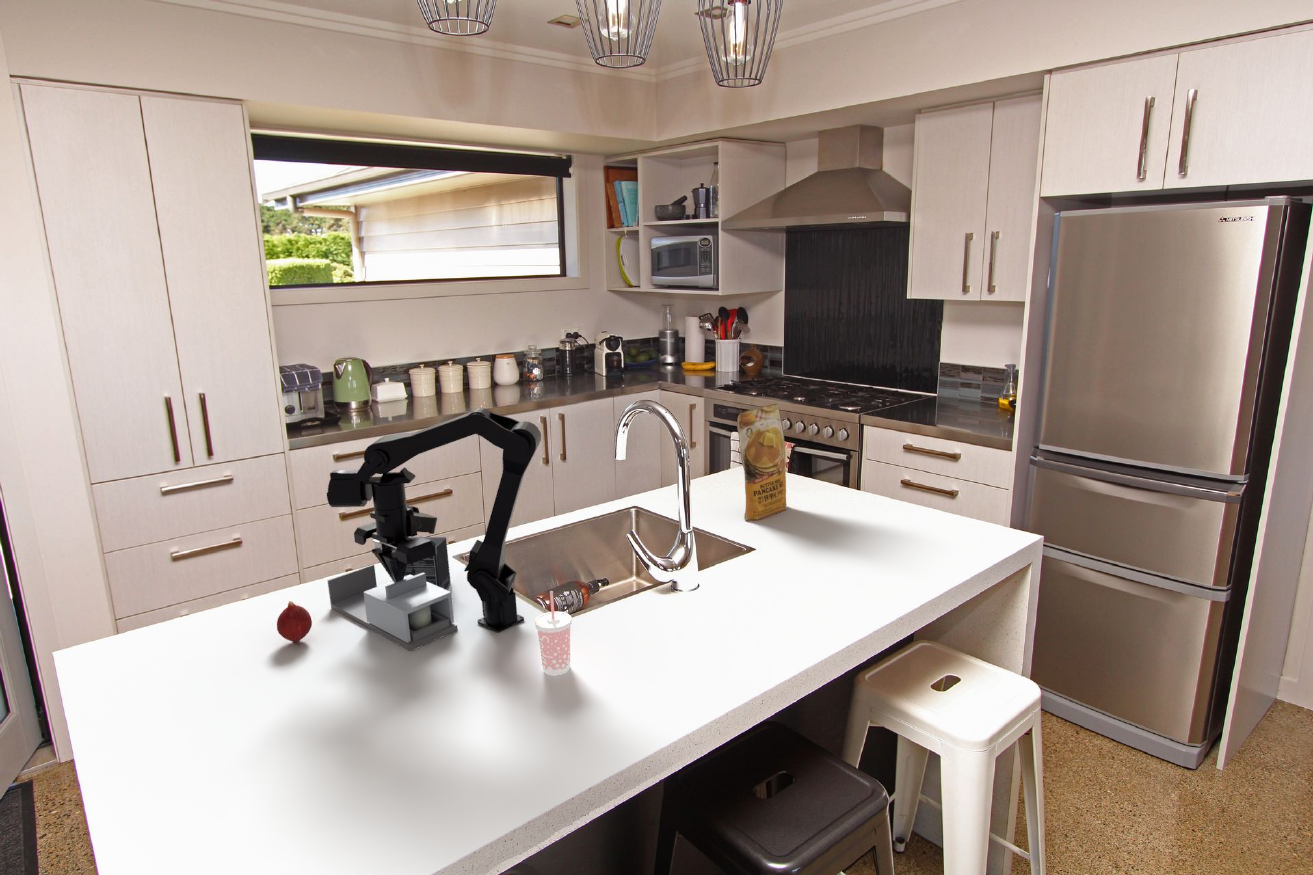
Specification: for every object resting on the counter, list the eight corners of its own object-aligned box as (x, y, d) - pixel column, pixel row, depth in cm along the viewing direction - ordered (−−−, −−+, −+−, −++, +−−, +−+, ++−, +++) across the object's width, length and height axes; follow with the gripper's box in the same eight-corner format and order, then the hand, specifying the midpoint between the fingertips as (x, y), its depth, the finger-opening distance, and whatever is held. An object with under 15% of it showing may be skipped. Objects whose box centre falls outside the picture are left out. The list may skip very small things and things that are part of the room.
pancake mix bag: (728, 518, 203) (728, 412, 197) (776, 501, 216) (777, 400, 209) (748, 524, 198) (748, 415, 192) (796, 507, 211) (797, 404, 204)
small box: (452, 581, 170) (447, 535, 167) (441, 594, 163) (436, 547, 161) (404, 581, 171) (399, 535, 168) (392, 594, 164) (386, 546, 162)
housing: (457, 629, 148) (454, 600, 146) (410, 650, 140) (407, 620, 139) (376, 591, 166) (373, 564, 164) (331, 608, 159) (327, 580, 157)
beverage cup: (534, 663, 135) (528, 588, 132) (568, 655, 137) (563, 581, 134) (543, 681, 129) (538, 602, 126) (579, 672, 132) (574, 595, 128)
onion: (321, 636, 147) (315, 596, 145) (298, 651, 142) (292, 610, 140) (296, 632, 149) (290, 593, 147) (272, 647, 143) (266, 606, 142)
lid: (454, 621, 148) (450, 579, 146) (407, 642, 141) (402, 598, 139) (413, 602, 157) (409, 563, 155) (367, 621, 149) (361, 579, 147)
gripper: (457, 503, 145) (464, 582, 149) (400, 486, 157) (408, 559, 160) (404, 520, 137) (413, 603, 140) (348, 500, 148) (357, 577, 152)
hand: (398, 584), depth 149 cm, fingers closed
